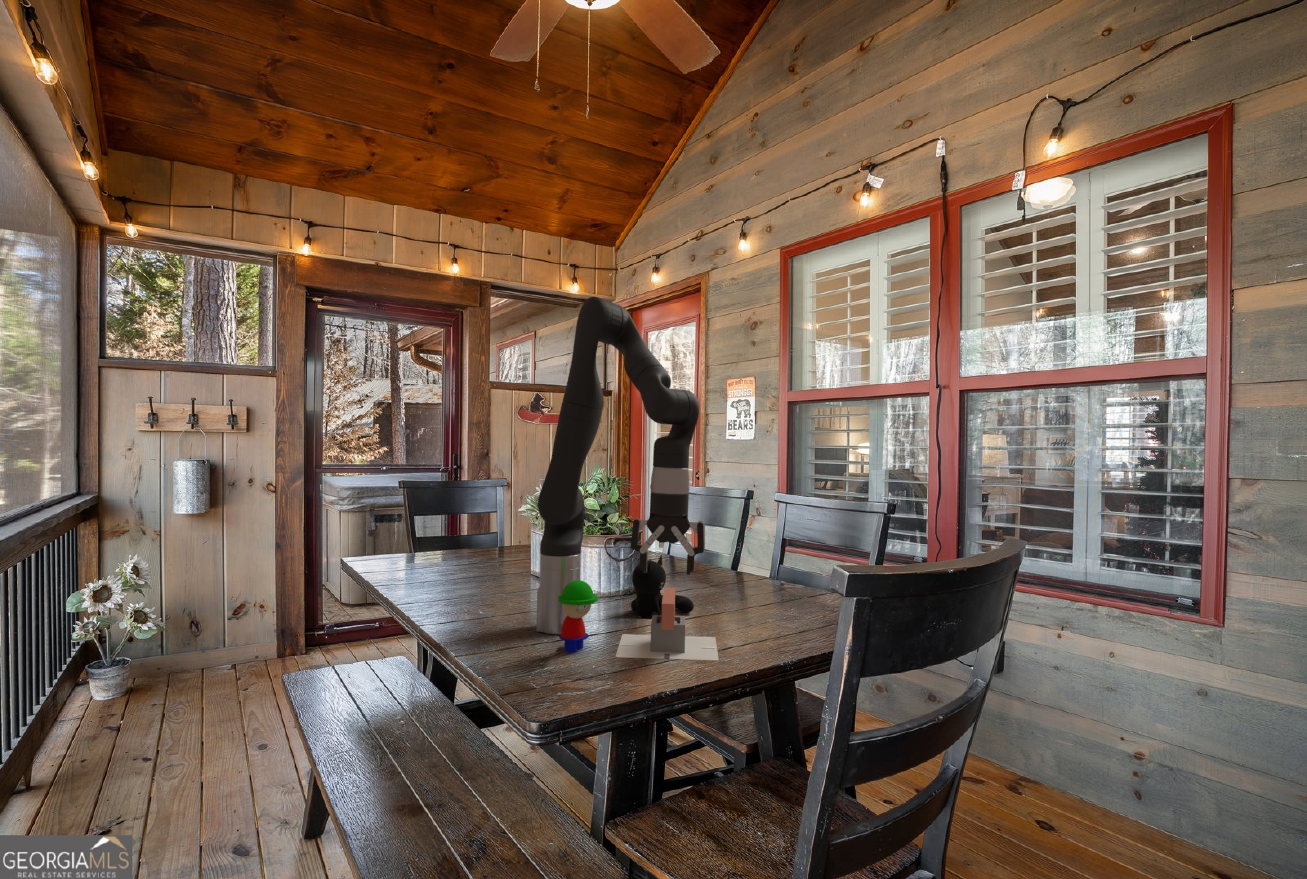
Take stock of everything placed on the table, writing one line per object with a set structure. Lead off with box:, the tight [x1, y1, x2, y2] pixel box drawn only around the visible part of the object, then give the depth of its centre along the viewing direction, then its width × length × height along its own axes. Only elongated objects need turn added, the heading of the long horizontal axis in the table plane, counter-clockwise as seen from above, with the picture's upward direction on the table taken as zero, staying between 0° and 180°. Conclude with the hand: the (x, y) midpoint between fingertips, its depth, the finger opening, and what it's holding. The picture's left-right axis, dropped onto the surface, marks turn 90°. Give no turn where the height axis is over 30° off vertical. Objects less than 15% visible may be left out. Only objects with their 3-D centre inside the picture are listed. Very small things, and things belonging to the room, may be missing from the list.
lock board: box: [614, 620, 720, 662], centre depth 134 cm, size 20×15×6 cm
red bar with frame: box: [650, 587, 686, 653], centre depth 134 cm, size 14×7×10 cm, turn 177°
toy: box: [558, 580, 599, 654], centre depth 131 cm, size 8×8×15 cm
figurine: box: [630, 553, 695, 619], centre depth 165 cm, size 16×14×15 cm
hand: (666, 573), depth 129 cm, fingers open, 8 cm apart
